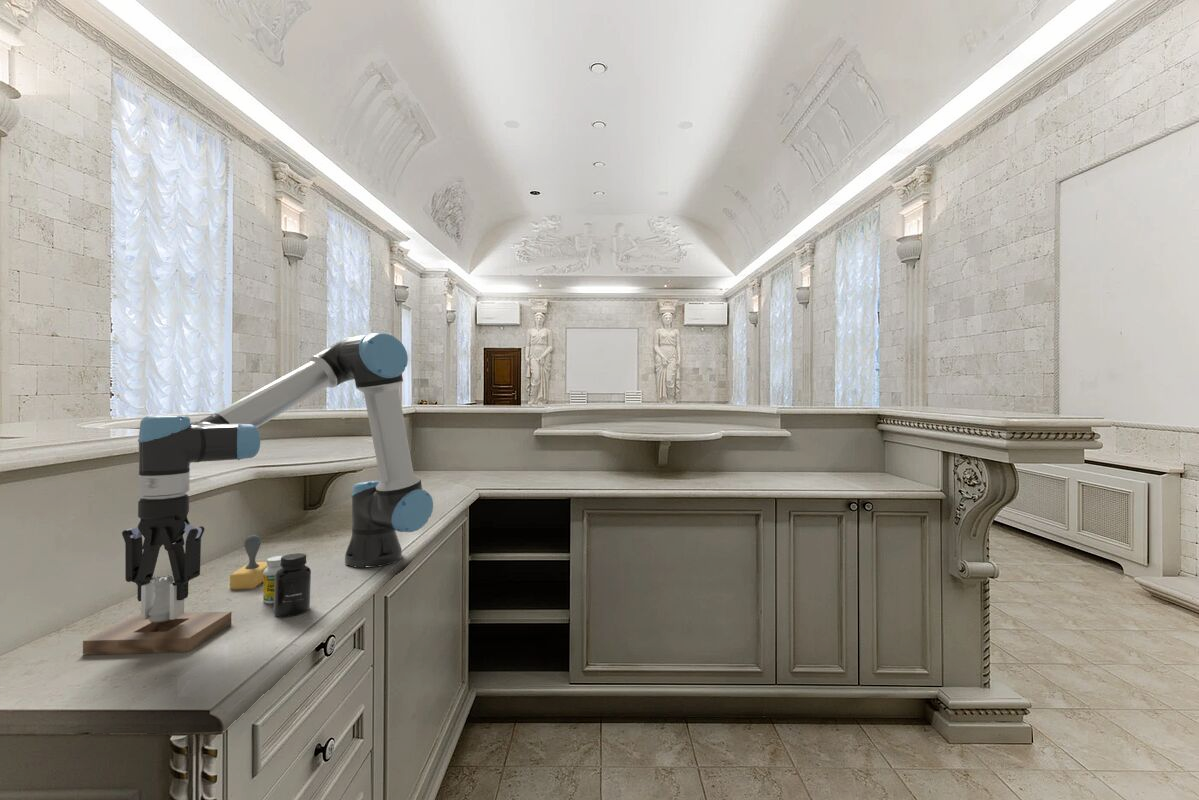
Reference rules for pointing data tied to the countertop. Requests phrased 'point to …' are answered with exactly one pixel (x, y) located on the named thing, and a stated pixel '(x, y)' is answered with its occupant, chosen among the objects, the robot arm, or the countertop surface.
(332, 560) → the countertop surface
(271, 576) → the supplement bottle
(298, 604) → the supplement bottle
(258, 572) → the rubber stamp
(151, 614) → the rook chess piece
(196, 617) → the walnut socket board
